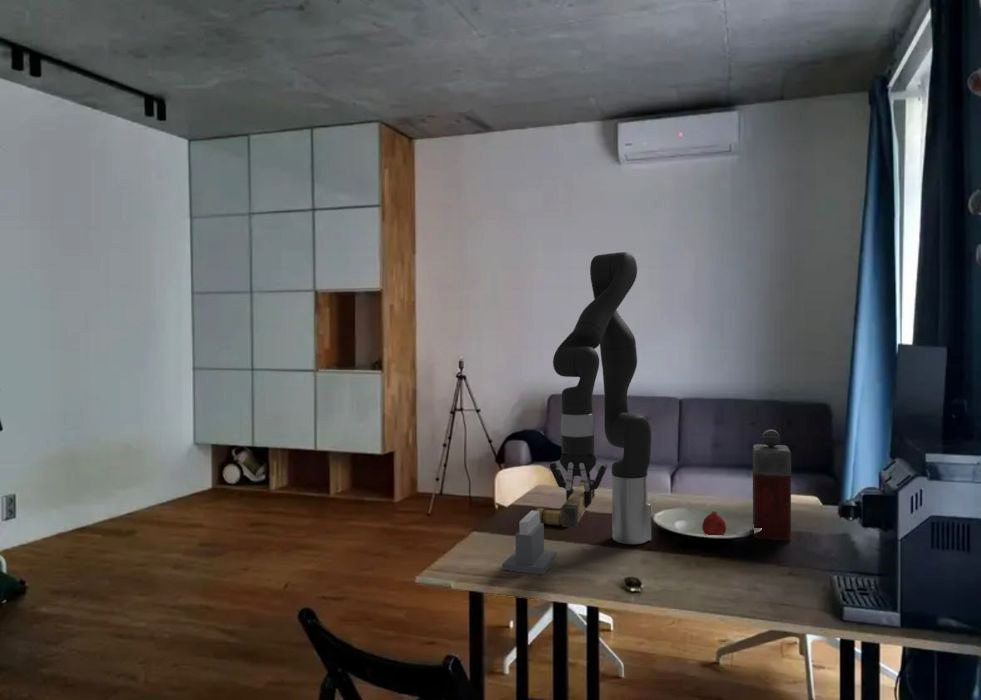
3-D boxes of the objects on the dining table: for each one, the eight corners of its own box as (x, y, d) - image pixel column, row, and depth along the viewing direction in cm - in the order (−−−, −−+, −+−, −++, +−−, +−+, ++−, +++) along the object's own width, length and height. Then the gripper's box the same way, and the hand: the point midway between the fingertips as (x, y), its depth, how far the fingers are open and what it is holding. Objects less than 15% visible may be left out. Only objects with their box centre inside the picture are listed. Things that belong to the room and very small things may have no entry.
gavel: (556, 496, 215) (587, 499, 211) (556, 511, 215) (587, 514, 211) (534, 509, 196) (568, 513, 192) (534, 526, 195) (568, 529, 192)
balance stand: (557, 557, 169) (556, 511, 168) (543, 574, 157) (543, 525, 157) (518, 553, 172) (517, 508, 171) (502, 570, 161) (501, 521, 160)
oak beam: (582, 495, 171) (581, 479, 170) (594, 495, 170) (594, 479, 169) (561, 525, 150) (561, 507, 150) (575, 527, 149) (575, 508, 149)
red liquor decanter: (787, 528, 188) (787, 426, 187) (791, 540, 177) (791, 433, 176) (752, 525, 191) (752, 425, 190) (754, 537, 180) (753, 432, 179)
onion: (701, 543, 177) (701, 512, 177) (703, 536, 182) (703, 506, 182) (725, 545, 175) (725, 514, 175) (726, 538, 180) (726, 508, 180)
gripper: (610, 430, 160) (611, 503, 161) (552, 429, 165) (553, 499, 166) (604, 436, 153) (606, 512, 154) (544, 434, 158) (545, 508, 159)
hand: (578, 505), depth 160 cm, fingers closed on oak beam, 3 cm apart
